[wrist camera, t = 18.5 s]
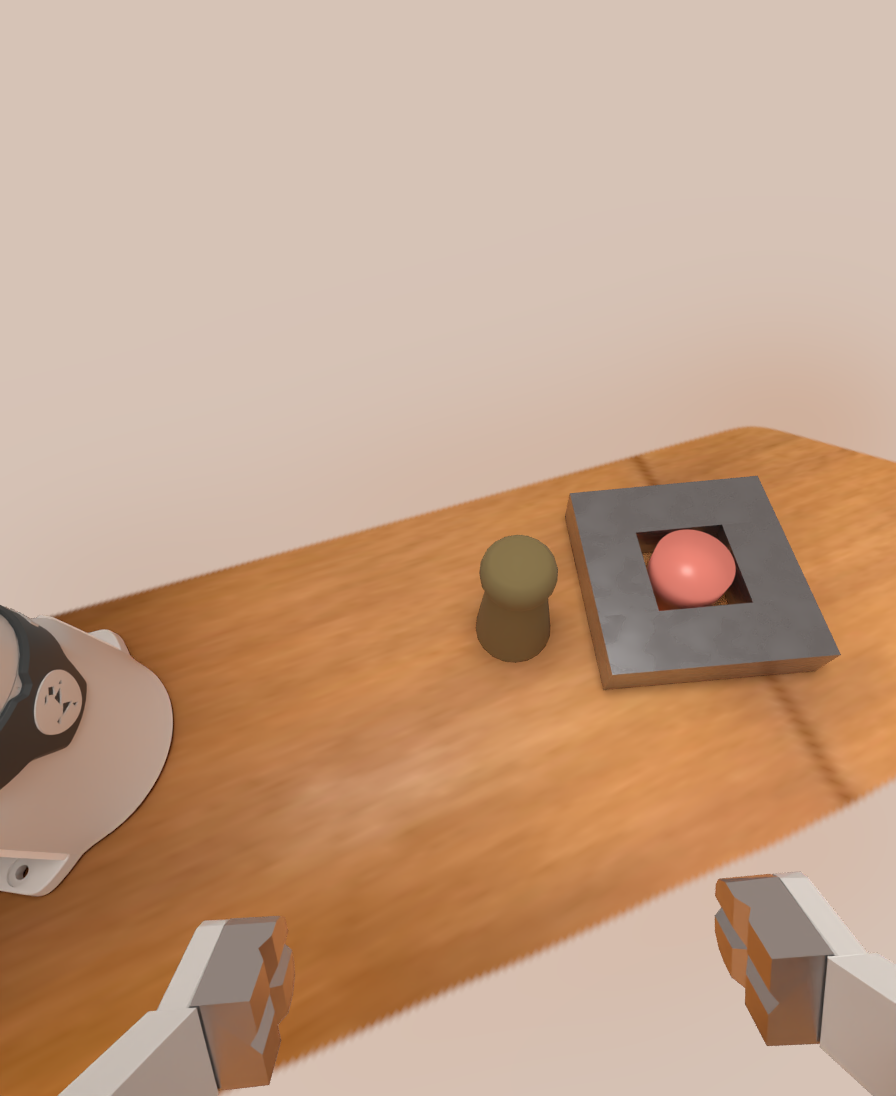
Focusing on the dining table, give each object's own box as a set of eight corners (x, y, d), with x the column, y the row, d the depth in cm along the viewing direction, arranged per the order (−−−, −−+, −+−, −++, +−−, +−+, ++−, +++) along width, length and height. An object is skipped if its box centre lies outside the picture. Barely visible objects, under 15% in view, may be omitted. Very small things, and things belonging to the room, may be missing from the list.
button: (652, 622, 44) (666, 600, 41) (633, 558, 47) (645, 533, 44) (727, 615, 44) (747, 593, 41) (703, 551, 47) (720, 526, 44)
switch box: (603, 689, 42) (612, 674, 39) (564, 516, 50) (569, 493, 47) (815, 670, 41) (840, 654, 38) (741, 500, 50) (757, 475, 47)
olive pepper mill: (501, 581, 47) (505, 506, 38) (563, 617, 45) (584, 548, 36) (461, 636, 45) (454, 571, 35) (525, 677, 43) (536, 619, 33)
